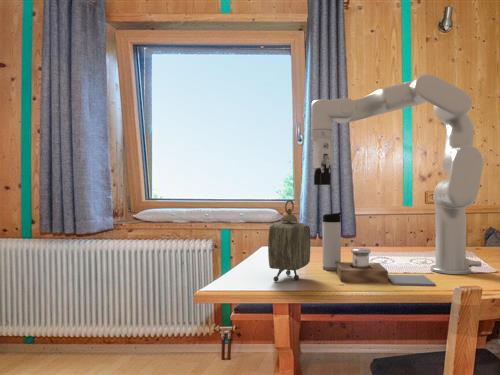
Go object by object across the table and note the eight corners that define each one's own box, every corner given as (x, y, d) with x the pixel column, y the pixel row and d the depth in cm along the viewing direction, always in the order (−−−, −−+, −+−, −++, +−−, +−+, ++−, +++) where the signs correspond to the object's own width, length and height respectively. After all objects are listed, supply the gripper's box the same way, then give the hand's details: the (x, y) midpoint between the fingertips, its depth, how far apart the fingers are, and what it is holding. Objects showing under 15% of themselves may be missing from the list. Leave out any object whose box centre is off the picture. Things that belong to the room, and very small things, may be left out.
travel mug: (341, 271, 150) (341, 213, 150) (322, 270, 152) (322, 212, 151) (341, 267, 156) (341, 211, 156) (322, 267, 158) (322, 211, 158)
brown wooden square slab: (379, 273, 146) (379, 262, 146) (387, 282, 133) (387, 271, 133) (336, 272, 148) (336, 262, 148) (340, 281, 134) (340, 270, 134)
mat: (423, 277, 140) (423, 275, 140) (435, 285, 128) (435, 283, 128) (385, 276, 141) (385, 274, 141) (393, 285, 129) (393, 282, 129)
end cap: (368, 275, 143) (368, 248, 143) (372, 279, 137) (372, 250, 137) (350, 275, 144) (350, 247, 143) (352, 279, 138) (352, 250, 138)
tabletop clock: (285, 273, 146) (285, 198, 146) (311, 276, 142) (311, 199, 142) (268, 282, 133) (268, 200, 133) (296, 285, 129) (296, 200, 129)
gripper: (339, 133, 144) (339, 184, 144) (326, 138, 161) (326, 184, 162) (317, 132, 144) (317, 184, 144) (306, 138, 161) (306, 184, 161)
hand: (321, 184), depth 153 cm, fingers open, 9 cm apart
